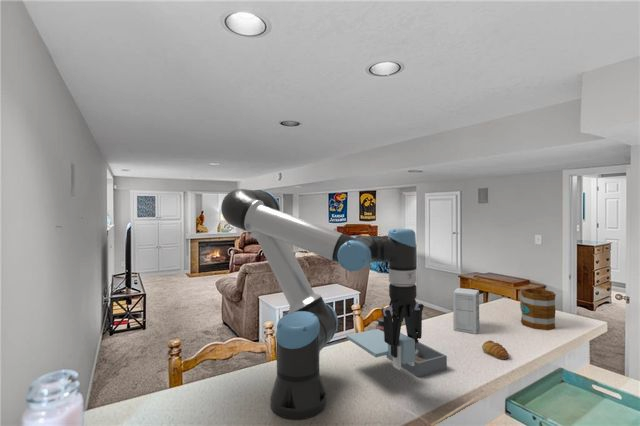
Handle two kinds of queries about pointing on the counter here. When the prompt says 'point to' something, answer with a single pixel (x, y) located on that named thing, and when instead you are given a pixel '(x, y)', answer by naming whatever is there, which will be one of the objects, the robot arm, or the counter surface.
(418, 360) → the walnut block
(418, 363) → the tub
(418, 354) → the ball
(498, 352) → the pastry
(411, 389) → the counter surface
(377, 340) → the lid
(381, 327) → the supplement bottle
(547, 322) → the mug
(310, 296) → the robot arm
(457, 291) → the supplement box
